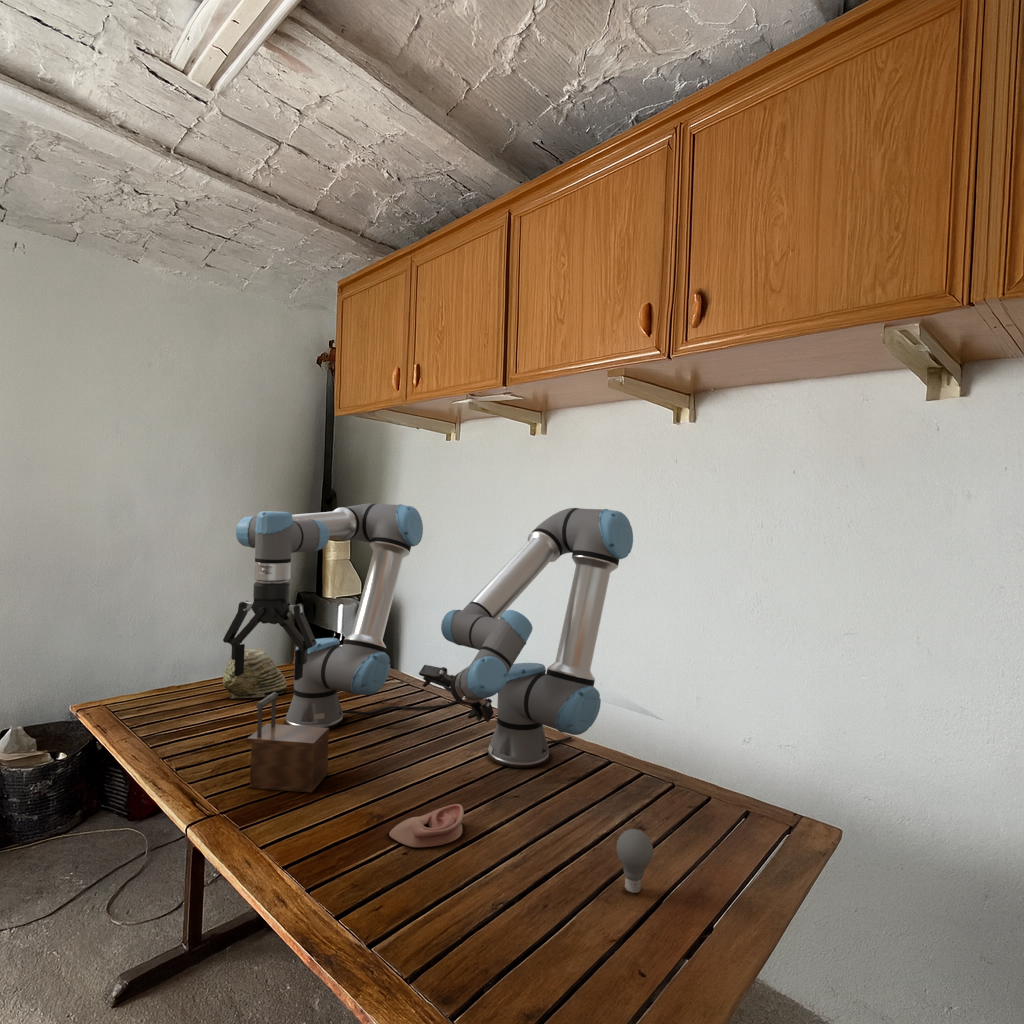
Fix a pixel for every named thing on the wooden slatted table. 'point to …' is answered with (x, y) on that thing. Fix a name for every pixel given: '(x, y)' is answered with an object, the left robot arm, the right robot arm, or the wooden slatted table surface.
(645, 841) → the light bulb
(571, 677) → the right robot arm
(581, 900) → the wooden slatted table surface
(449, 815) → the anatomical model
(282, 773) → the chest
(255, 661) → the fossil
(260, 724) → the lid
